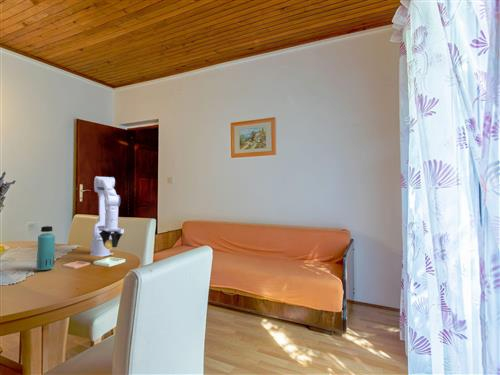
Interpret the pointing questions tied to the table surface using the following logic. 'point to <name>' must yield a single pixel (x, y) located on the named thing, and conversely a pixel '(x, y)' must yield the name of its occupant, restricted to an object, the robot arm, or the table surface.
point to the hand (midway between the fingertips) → (110, 246)
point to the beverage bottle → (45, 249)
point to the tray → (109, 261)
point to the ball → (108, 244)
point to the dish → (76, 264)
